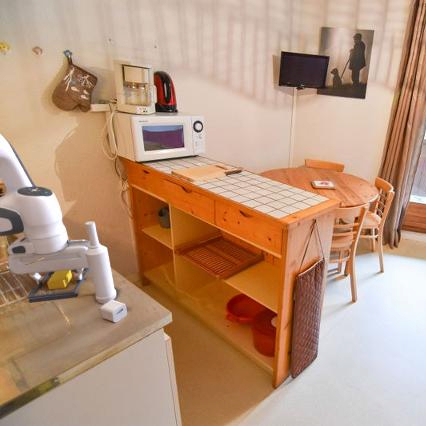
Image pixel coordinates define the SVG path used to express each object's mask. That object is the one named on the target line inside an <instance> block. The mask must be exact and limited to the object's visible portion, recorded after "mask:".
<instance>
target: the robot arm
mask: <svg viewBox="0 0 426 426" xmlns="http://www.w3.org/2000/svg"><path fill="white" fill-rule="evenodd" d="M0 180H1V182H2V183H3V185H4V187H5V194H4V195H2V196H0V237H6V236H7V237H8V236H14V235H19V234H24V235H25V236H21V237H18V238H17V239H15V240H14V241H13V242H12V243H11V244H10V245H9V246H8V247H7V249H6V251H7V253H8V254H9V255H8V257H7V261H8V267H9V270H10V272H11V273H12V274H14V275H24V274H25V275H26V274H28V275H29V277H30V278H32V279H33V280H35V281H36V285H38V284H42V285H44V284H45V283H47V278H46V279H45V275H41V274H40V273H47V272H50V271H61V270H72V269H76V270H77V271H76V272H75V273H74V275H73V278H74V281H80V280H81V279H82V276H83V274H82V273H83V272H84V271H83V269H84V268H89V266H88V263H87V259H86V255H85V251H86V250H87V249H88V248H89V246H90V241H89V239H86V238H80V239H69V235H68V232H67V228H66V226H65V224H64V223H63V213H62V209H61V206H60V203H59V200H58V198H57V196H56V195H55V193H54V192H53V191H52V189H50V188H47V187H44V186H39V185H36V184H35V183H34V181H33V179H32V177H31V176H30V174H29V172H28V170H27V169H26V167H25V164H24V163H23V161H22V160H21V158H20V156H19V154H18V153H17V151H16V150H15V148H14V146H13V145H12V143H10V141H9V140H8V139H7V138H5V137H4V136H3V135H2V134H1V133H0ZM43 257H44V259H42V260H40V261H37V260H38V259H40V258H43ZM34 261H37V262H35V263H32V264H28V263H31V262H34ZM25 264H28V265H25Z"/></svg>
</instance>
